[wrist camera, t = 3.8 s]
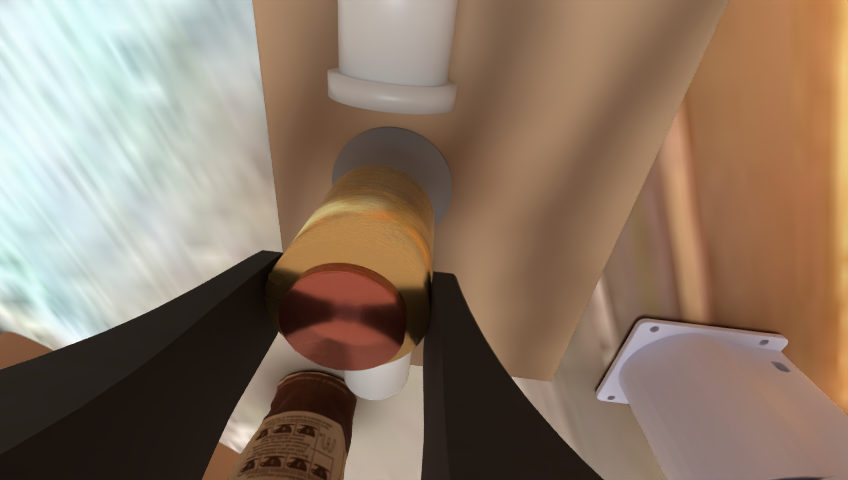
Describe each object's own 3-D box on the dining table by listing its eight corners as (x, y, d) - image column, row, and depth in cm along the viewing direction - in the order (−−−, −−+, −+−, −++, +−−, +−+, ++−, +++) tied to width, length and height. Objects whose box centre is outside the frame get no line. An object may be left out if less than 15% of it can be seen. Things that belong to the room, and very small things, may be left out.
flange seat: (461, 135, 16) (461, 136, 16) (443, 245, 19) (443, 247, 19) (331, 119, 16) (329, 119, 16) (334, 231, 19) (333, 233, 19)
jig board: (773, -138, 12) (799, -151, 11) (547, 369, 25) (551, 381, 24) (240, -209, 12) (224, -229, 11) (300, 339, 25) (294, 350, 24)
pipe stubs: (484, -120, 12) (504, -201, 8) (417, 345, 24) (411, 411, 20) (344, -139, 12) (290, -230, 8) (347, 337, 24) (327, 401, 20)
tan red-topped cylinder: (440, 171, 13) (438, 266, 8) (429, 267, 15) (421, 392, 10) (322, 159, 13) (238, 245, 8) (328, 257, 15) (267, 376, 10)
